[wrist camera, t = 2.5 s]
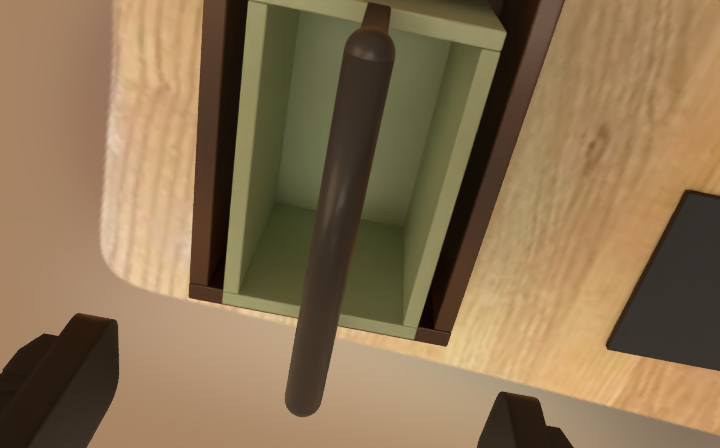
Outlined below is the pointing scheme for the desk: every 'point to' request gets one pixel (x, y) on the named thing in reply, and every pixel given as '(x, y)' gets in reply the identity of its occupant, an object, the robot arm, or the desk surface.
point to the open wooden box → (479, 184)
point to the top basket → (351, 163)
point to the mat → (678, 291)
